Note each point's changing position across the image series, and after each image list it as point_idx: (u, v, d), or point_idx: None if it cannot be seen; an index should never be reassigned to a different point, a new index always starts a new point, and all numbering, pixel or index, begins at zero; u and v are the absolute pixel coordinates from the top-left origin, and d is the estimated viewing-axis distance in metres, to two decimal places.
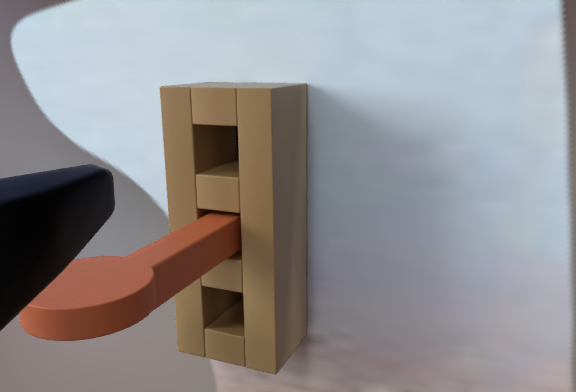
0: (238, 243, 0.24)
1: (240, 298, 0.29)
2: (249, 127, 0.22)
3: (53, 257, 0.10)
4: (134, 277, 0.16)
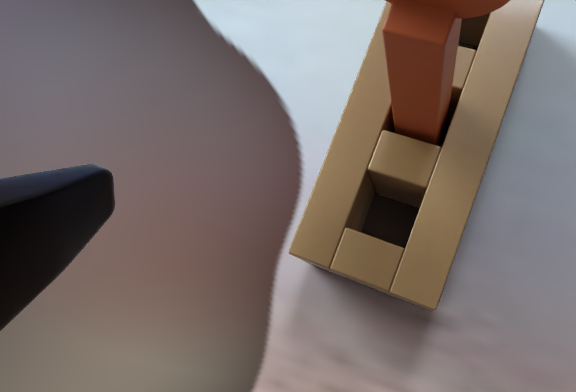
0: (439, 128, 0.19)
1: None
2: None
3: (53, 257, 0.10)
4: None
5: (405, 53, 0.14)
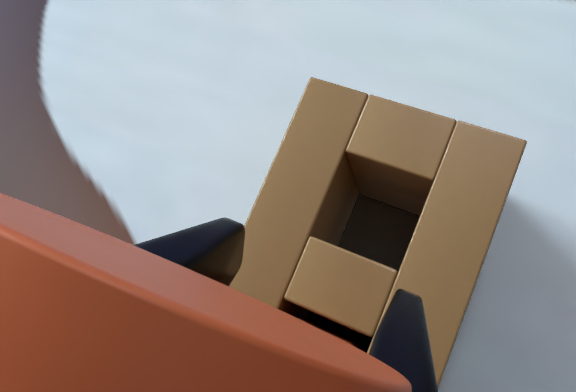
0: None
1: None
2: (457, 189, 0.12)
3: None
4: (332, 341, 0.05)
5: None
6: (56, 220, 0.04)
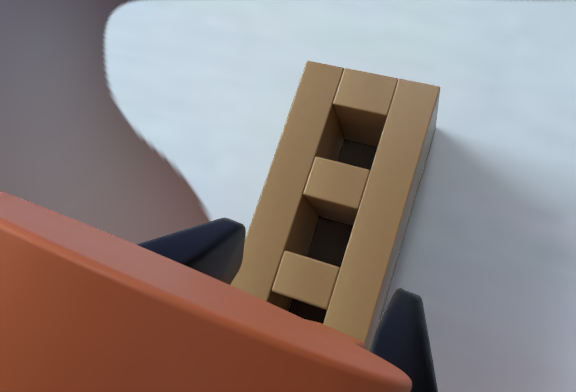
0: None
1: None
2: (401, 119, 0.20)
3: None
4: (332, 337, 0.05)
5: None
6: (56, 217, 0.04)
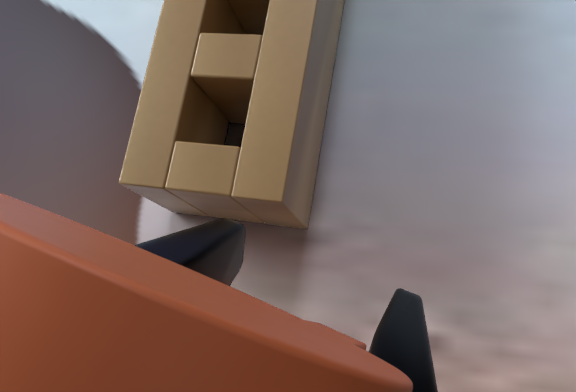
0: None
1: None
2: None
3: None
4: (332, 339, 0.04)
5: None
6: (55, 219, 0.04)
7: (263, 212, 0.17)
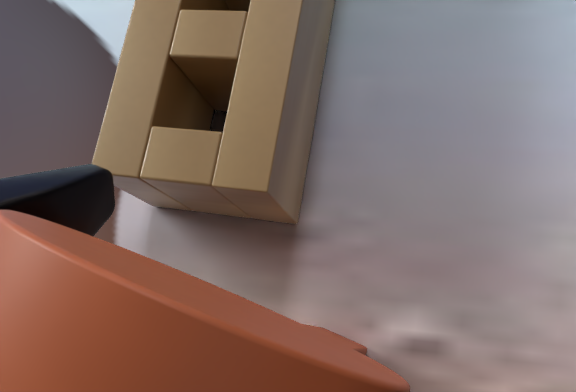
0: None
1: None
2: None
3: None
4: (342, 348, 0.05)
5: None
6: (106, 247, 0.05)
7: (248, 205, 0.16)
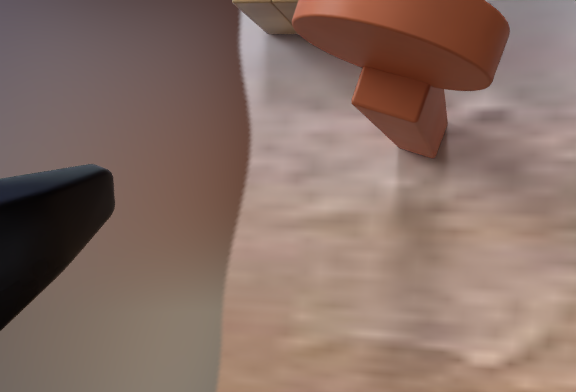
0: (434, 140, 0.18)
1: None
2: None
3: (53, 257, 0.10)
4: None
5: (380, 117, 0.13)
6: None
7: None
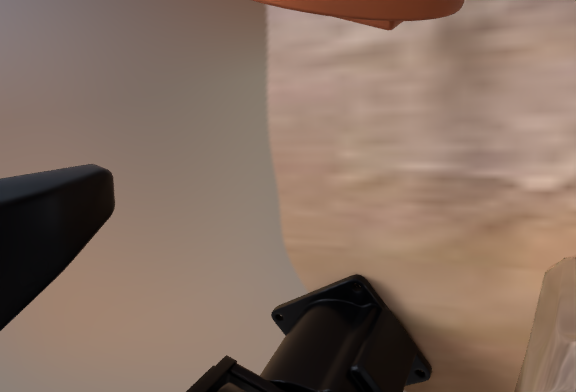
0: None
1: None
2: None
3: (53, 257, 0.10)
4: None
5: None
6: None
7: None
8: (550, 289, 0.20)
